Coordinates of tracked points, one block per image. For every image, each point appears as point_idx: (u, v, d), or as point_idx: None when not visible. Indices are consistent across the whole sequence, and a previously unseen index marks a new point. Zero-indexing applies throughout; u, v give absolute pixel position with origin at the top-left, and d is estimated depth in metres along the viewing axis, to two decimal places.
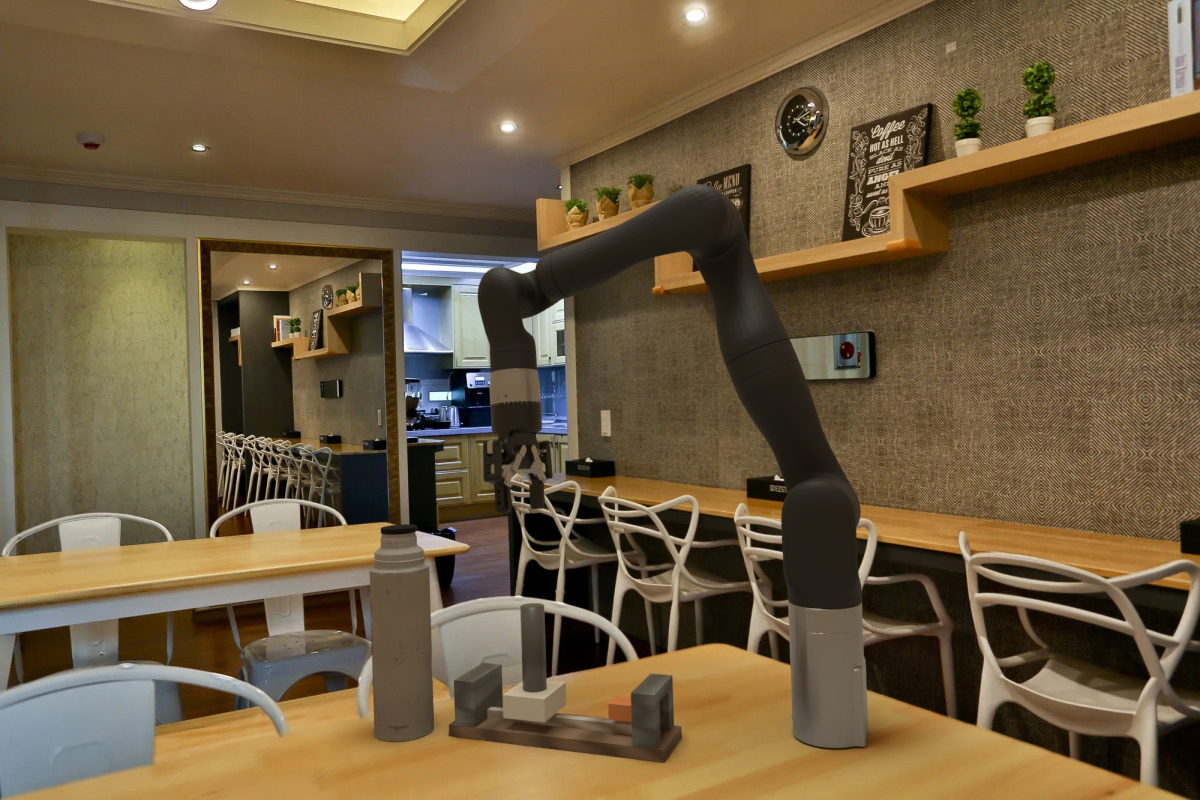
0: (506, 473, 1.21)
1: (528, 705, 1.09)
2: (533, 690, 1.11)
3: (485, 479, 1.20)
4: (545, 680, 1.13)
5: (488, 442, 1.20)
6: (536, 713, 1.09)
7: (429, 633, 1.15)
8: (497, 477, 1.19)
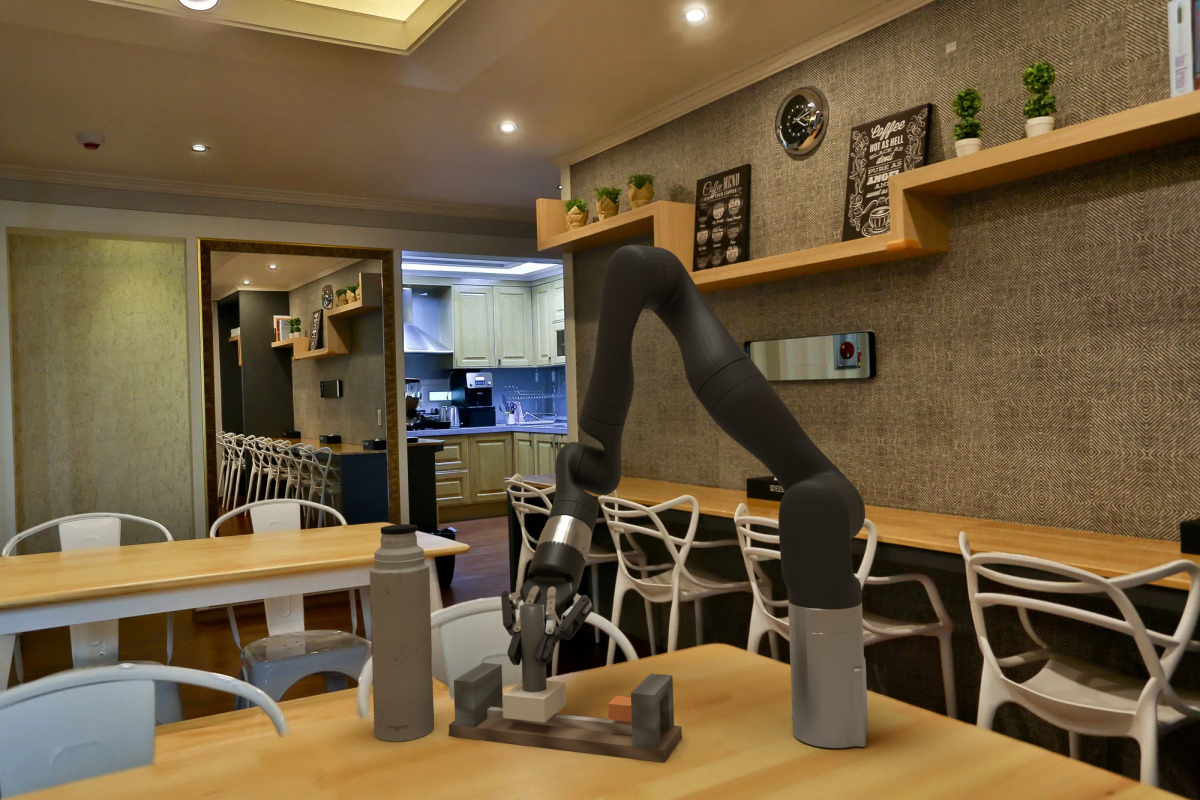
0: (517, 621, 1.15)
1: (528, 705, 1.09)
2: (533, 690, 1.11)
3: None
4: (545, 680, 1.13)
5: None
6: (536, 713, 1.09)
7: (429, 633, 1.15)
8: (504, 623, 1.15)
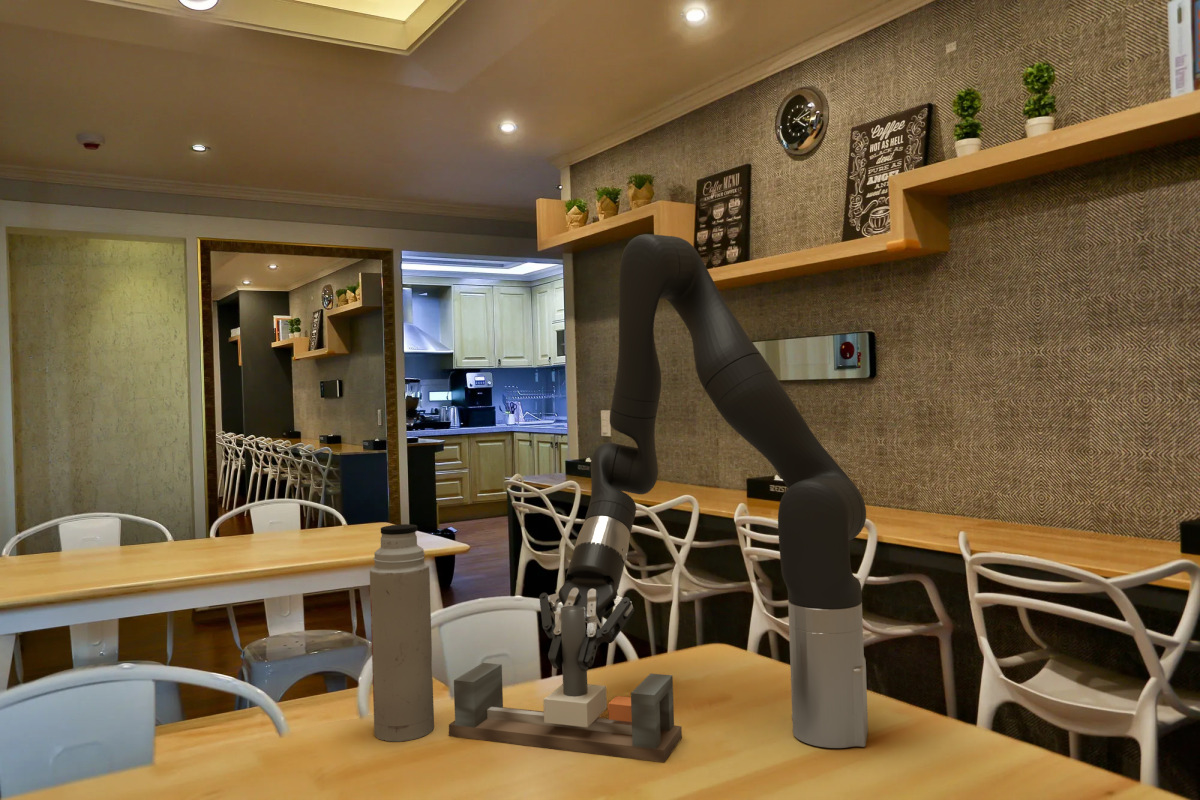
0: None
1: (570, 709, 1.07)
2: (574, 694, 1.09)
3: (548, 636, 1.14)
4: (586, 684, 1.10)
5: None
6: (578, 717, 1.07)
7: (429, 633, 1.15)
8: (543, 625, 1.13)
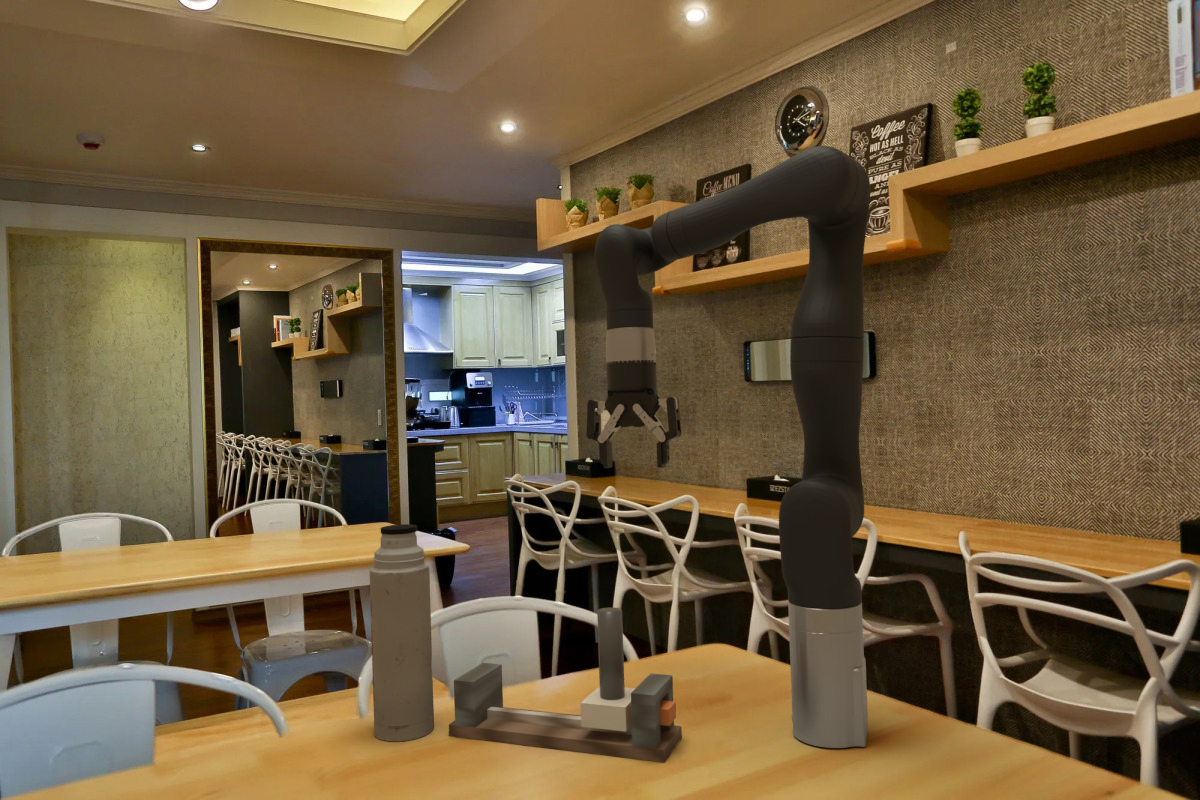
0: (602, 431, 1.28)
1: (608, 713, 1.05)
2: (612, 698, 1.07)
3: None
4: (623, 687, 1.09)
5: None
6: (616, 722, 1.05)
7: (429, 633, 1.15)
8: (587, 435, 1.28)
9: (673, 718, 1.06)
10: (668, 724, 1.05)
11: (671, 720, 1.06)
